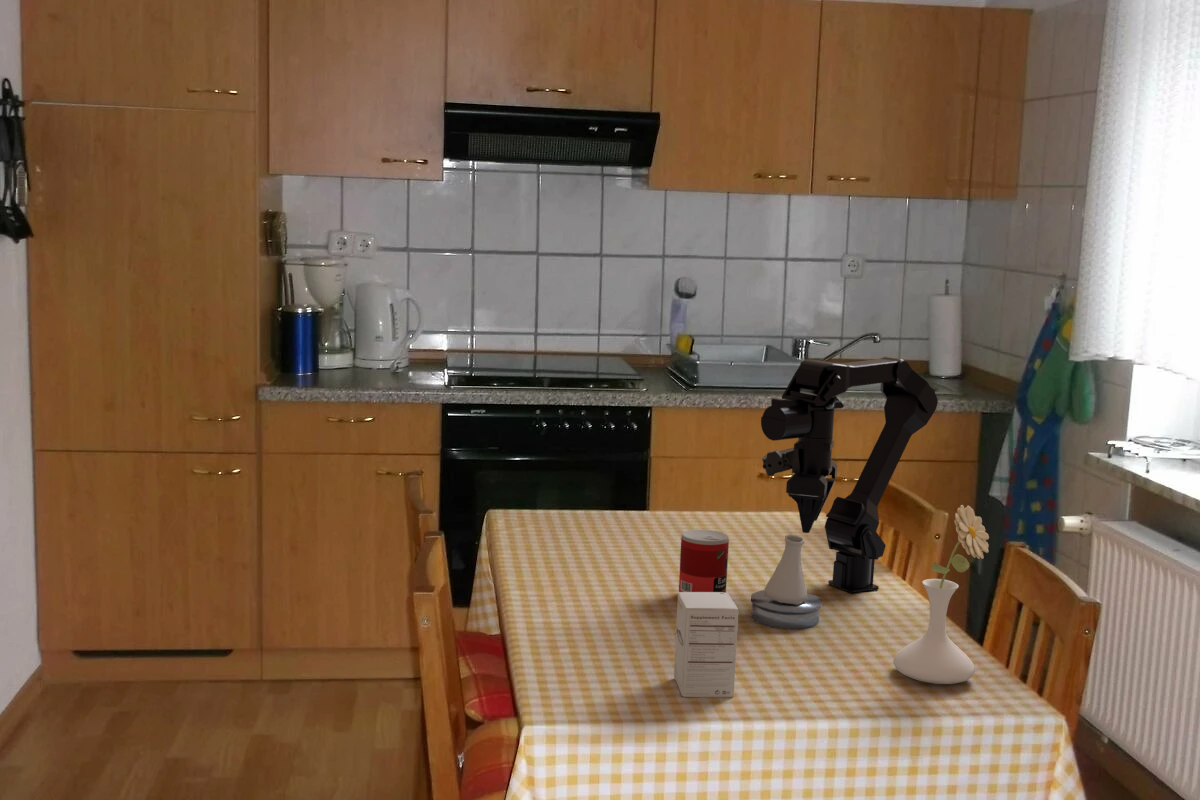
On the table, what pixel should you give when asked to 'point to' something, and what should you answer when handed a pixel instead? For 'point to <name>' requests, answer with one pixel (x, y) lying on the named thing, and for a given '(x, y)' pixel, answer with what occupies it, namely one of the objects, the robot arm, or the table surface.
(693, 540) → the canned food
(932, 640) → the flower in vase
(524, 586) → the table surface
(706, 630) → the supplement box
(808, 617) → the biscuit tin
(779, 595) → the flask
